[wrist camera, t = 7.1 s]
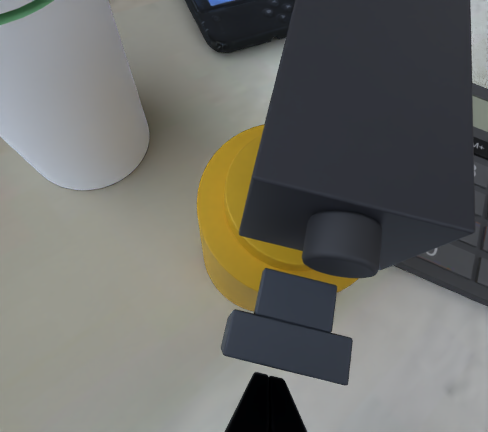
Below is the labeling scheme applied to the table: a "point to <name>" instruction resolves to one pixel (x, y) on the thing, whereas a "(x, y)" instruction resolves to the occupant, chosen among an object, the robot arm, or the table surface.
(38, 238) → the table surface
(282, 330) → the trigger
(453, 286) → the calculator
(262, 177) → the spray bottle
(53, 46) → the cylindrical container
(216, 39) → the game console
